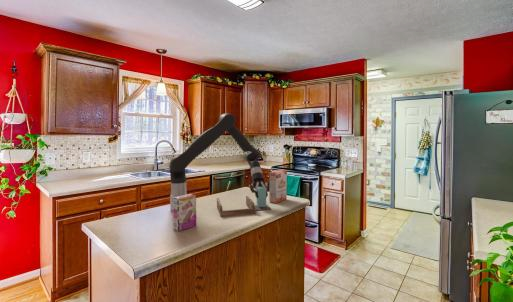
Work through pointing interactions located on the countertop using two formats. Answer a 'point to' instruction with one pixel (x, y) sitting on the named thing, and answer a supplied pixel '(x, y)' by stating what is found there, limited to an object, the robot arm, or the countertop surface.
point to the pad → (262, 207)
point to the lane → (239, 211)
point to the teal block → (261, 196)
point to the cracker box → (278, 186)
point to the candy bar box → (184, 212)
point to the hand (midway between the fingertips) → (262, 197)
